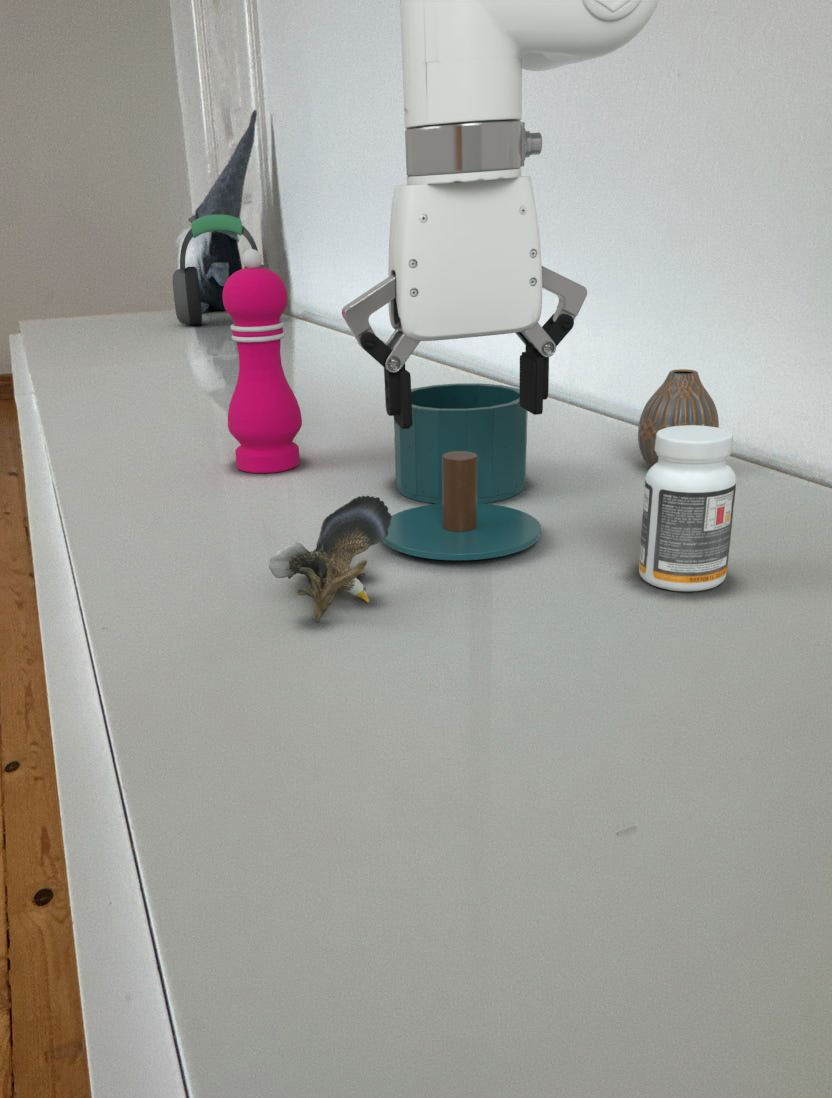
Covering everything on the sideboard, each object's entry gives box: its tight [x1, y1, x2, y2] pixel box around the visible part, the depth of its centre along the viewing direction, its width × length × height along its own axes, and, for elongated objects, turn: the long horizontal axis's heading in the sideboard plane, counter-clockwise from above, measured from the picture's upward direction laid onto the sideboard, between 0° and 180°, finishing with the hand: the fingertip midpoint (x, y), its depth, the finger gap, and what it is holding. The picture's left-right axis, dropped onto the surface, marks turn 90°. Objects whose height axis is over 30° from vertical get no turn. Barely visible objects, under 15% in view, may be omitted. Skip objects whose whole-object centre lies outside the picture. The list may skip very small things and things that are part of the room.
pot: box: [393, 382, 529, 504], centre depth 88 cm, size 11×11×8 cm
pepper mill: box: [222, 248, 303, 474], centre depth 95 cm, size 7×7×20 cm
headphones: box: [172, 213, 269, 326], centre depth 195 cm, size 19×11×20 cm, turn 97°
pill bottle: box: [638, 425, 737, 592], centre depth 65 cm, size 6×6×10 cm
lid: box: [381, 451, 542, 561], centre depth 75 cm, size 12×12×7 cm
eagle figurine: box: [268, 495, 392, 623], centre depth 66 cm, size 8×7×9 cm
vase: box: [637, 368, 720, 468], centre depth 90 cm, size 7×7×9 cm
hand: (467, 417), depth 73 cm, fingers open, 9 cm apart
